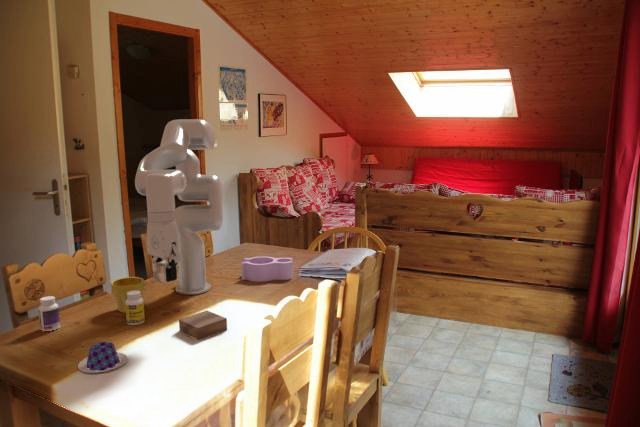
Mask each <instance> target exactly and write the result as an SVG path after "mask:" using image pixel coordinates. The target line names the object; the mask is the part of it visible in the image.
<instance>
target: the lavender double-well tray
mask: <svg viewBox="0 0 640 427" xmlns="http://www.w3.org/2000/svg"><path fill="white" fill-rule="evenodd" d="M240 264H241V280H242V281H246V280H248V281H250V282H259V283H261V282H269V281H275V280H277V281H279V280H281V281H287V280H292V279H293V278H294V273H295V272H294V270H295V269H294V258H292V257H272V256H265V255H264V256H254V257H243V262H241V263H240Z"/></svg>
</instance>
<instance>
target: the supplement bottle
mask: <svg viewBox="0 0 640 427" xmlns="http://www.w3.org/2000/svg"><path fill="white" fill-rule="evenodd" d="M140 296H141V292H140V291H137V290H135V291H129V292H127V298H128V299H127V300H126V301H125V307H126V313H125V318H126V324H127V325H129V326H137V325H140V324H143V323H145V304H144V301H145V300H144V298H142V296H141V297H140Z"/></svg>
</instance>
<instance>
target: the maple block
mask: <svg viewBox="0 0 640 427" xmlns="http://www.w3.org/2000/svg"><path fill="white" fill-rule="evenodd" d="M169 261H170V262H171V259H169ZM166 268H167V265H166V261H165V260H163V261H161V262H157V263H153V262H152V276H153V277H152V279H153V281H155V282H158V283H160V284H168V283H171V282H174V281H175V282H176V280H178V277H179V264H177V267H176V270H177V279H176V280H173V281H170V282H167V281H166Z"/></svg>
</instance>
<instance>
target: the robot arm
mask: <svg viewBox="0 0 640 427" xmlns="http://www.w3.org/2000/svg"><path fill="white" fill-rule="evenodd" d="M215 144H216V134H215V129H214V127H212V125H211V124H210V123H209V122H207V121H206V120H204V119H201V118H198V119H197V118H195V119H194V118H193V119H189V118H188V119H185V118H183V119H182V118H181V119H173V120H171V121H168V122H167V124H166V125H165V127H164V130H163V134H162V137H161V141H160V145H159V147H157V148H155V149H154V150H152V151H151V152H149V153H147V154H145V156H144V157H143V158H142V159H141V160H140V162H139V164H138V165H137V166H138V167H137V170H136V174H135V178H134V186H135V190H136V192H137V193H138V194H140V195H141V196H146V209H147V210H146V212H147V224H146V249H147V254H148V255H150V256H151V258H152V263H157V262H161V261H166V265H167V268H166V281H167V282H168V283H171V282H174V281H173V280H175V282H176V281H177V282H178V285H177V286H176V287H175V291H176V293H177V294H180V295H192V296H193V295H199V294H203V293H207V292H208V291H210V290H211V288H212V286H211V284H210V283H209V282H207V272H206V255H205V253H206V252H205V242H204V239H203V238H202V237H201V235H200V233H198V232H216V231H220V229H221V228H222V227H223V222H224V219H223V218H224V217H223V214H224V212H223V189H222V182H221V179H220V178H219V177H218V176H217V175H215V174H201V161H200V159H199V157H198V156H197V155H196V154H195V153H194V151H195V150H197V151H198V150H199V151H202V150H204V151H205V150H206V151H207V150H211V149H213V148H214V146H215ZM192 150H194V151H192ZM173 167H175V169H170V168H173ZM175 196H177V198H178V199H179V200H180V201H182V202H207V203H208V204H189V205H187V204H186V205H180V206H178V207H176V199H175ZM169 260H170V261H171V262H170V261H169ZM177 265H178V280H176V279H177V270H176V267H177ZM170 281H171V282H170Z"/></svg>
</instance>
